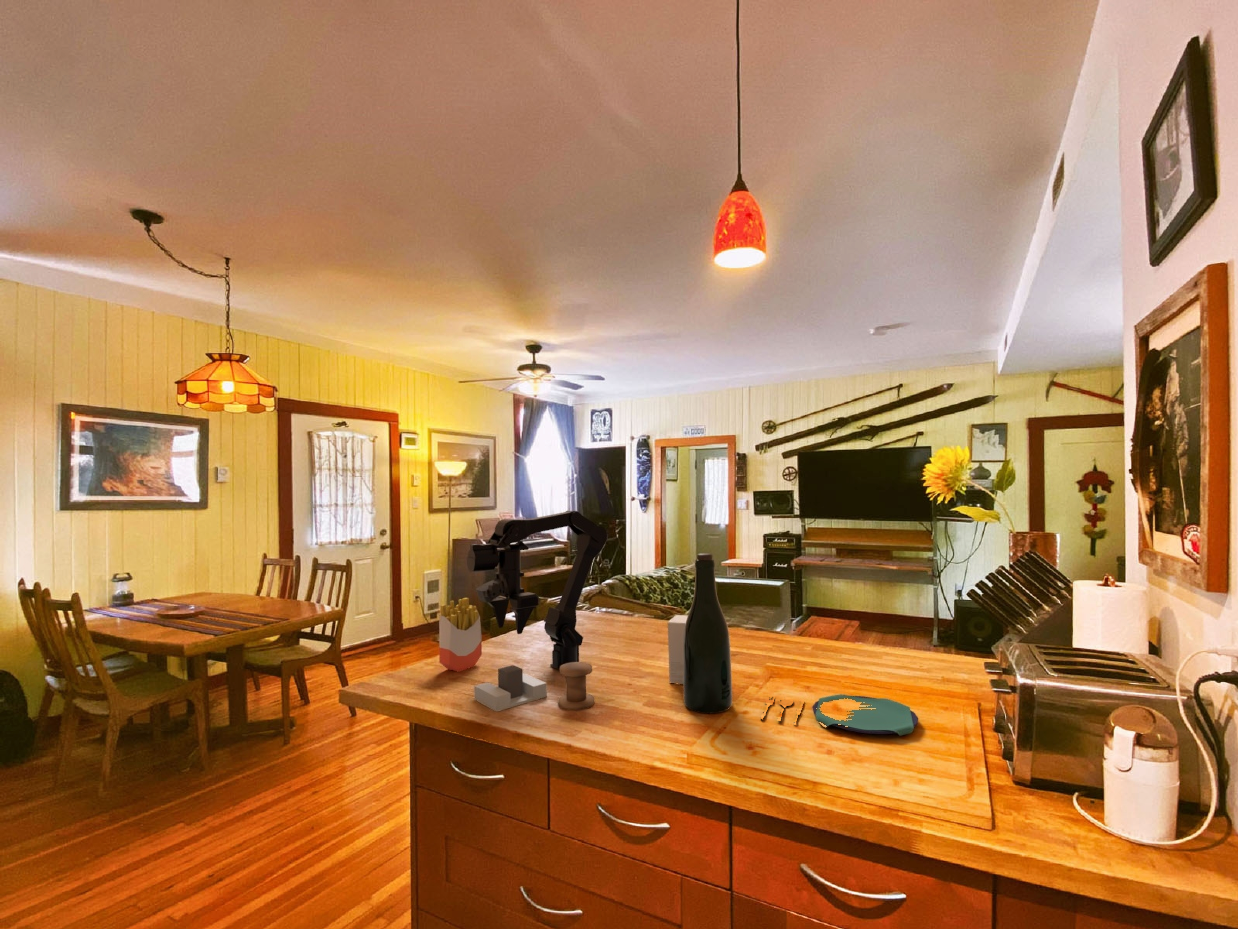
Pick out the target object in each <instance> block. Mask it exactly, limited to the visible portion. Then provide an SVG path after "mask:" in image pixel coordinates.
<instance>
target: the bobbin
mask: <svg viewBox="0 0 1238 929" xmlns="http://www.w3.org/2000/svg"><path fill="white" fill-rule="evenodd" d="M592 672H593V665H592V664H591V663H589V662H583V661H579V662H570V663H566V664H563V665H561V666H560V670H559V674H561V675H562V676H565V679H566V680H565V682H566V684H565V686H566V688H565V690H566V693H565V694H562V695H561V696H559V697H558V698H557V699H558V700H557V701H558V702H557V705H558V707H559V708H561V709H562V710H563V709H564V710H568V711H580V710H585V709H586V710H587V709H589V708H591V707H594V705H595V696H594V695H593V694H591V693H588V692H587V675H591V674H592Z"/></svg>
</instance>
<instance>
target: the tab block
mask: <svg viewBox="0 0 1238 929" xmlns="http://www.w3.org/2000/svg"><path fill="white" fill-rule="evenodd" d="M523 670H524V669H523V668H522V667H519V666H516V665H514V664H512V665H508V666H504V667H500V668H498V669H497V686H498V687H499V688H501V689H503V690H505V691H507V692H509V693H510V694H511V699H512V698H516V697H519V696H522V695H523V673H524V672H523Z"/></svg>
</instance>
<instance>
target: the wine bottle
mask: <svg viewBox="0 0 1238 929" xmlns="http://www.w3.org/2000/svg"><path fill="white" fill-rule="evenodd" d="M696 558H697V559H695V560H694V561H695V562H694V570H695V571H694V572H695V581H694V594H693V600H692V603H691V606H690V610H689V611H688V614H687V616H688V617H687V620H686V623H685V629H684V644H683V703H684V705H685V706H686V707H687V708H688V709H690V710H691V711H694V712H697V713H703V714H719V713H723V712H726V711H728V710H729V709H730V708H731V707H732V705H733V687H732V686H733V684H732V682H733V681H732V680H733V679H732V662H731V660H732V658H731V657H732V656H731V642H730V641H731V640H730V630H729V627H728V626H729V625H728V623H727V620H726V617H725V615H724V613H723V609H722V608H721V607H722V606H721V604H720V602H719V598H718V595H717V594H718V593H717V587H716V585H717V584H716V573H715V571H716V570H715V567H716V562H715V559H713V554H712V553H707V552H705V553H703V552H702V553H697V555H696ZM730 706H731V707H730ZM729 707H730V708H729ZM728 708H729V709H728ZM727 709H728V710H727Z"/></svg>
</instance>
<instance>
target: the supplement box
mask: <svg viewBox="0 0 1238 929" xmlns="http://www.w3.org/2000/svg"><path fill="white" fill-rule="evenodd" d="M687 617H688V615H682V614H675V615H674V616H673V617H672V618H671V619H670V620H668V622H667V637H668V638H667V640H668V641H667V645H668V647H667V648H668V649H667V650H668V677H669V678H668V679H669V681H668V682H671V683H678V684H677V685H680V684H683V644H684V629H685V623H686V620H687Z"/></svg>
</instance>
